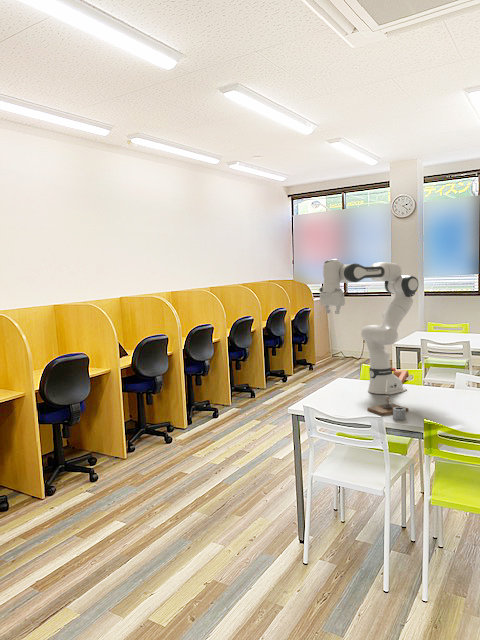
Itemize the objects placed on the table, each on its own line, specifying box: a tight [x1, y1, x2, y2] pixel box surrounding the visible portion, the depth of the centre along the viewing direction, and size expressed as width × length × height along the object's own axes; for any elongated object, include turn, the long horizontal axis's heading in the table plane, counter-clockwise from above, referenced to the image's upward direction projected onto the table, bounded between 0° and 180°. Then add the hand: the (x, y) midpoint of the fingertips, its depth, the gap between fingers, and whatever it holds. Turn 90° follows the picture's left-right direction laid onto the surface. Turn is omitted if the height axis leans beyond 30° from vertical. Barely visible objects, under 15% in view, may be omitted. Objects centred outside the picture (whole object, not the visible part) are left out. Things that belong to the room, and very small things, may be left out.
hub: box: [392, 406, 407, 421], centre depth 233 cm, size 6×6×5 cm
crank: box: [392, 369, 410, 384], centre depth 307 cm, size 20×8×8 cm, turn 148°
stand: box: [366, 395, 409, 417], centre depth 247 cm, size 16×12×8 cm
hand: (332, 313), depth 270 cm, fingers open, 8 cm apart
